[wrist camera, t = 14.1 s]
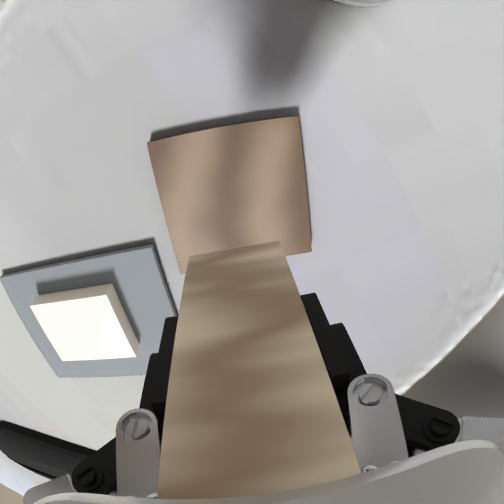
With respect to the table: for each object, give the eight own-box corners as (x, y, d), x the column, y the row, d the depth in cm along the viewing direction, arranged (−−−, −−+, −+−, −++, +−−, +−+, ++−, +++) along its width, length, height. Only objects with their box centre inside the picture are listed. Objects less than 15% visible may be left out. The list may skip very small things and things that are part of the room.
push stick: (279, 240, 14) (368, 496, 4) (287, 312, 16) (346, 530, 6) (189, 256, 14) (155, 521, 4) (208, 325, 16) (209, 549, 6)
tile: (139, 343, 32) (112, 282, 29) (136, 356, 30) (106, 294, 27) (68, 348, 32) (38, 294, 29) (62, 360, 30) (29, 305, 27)
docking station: (-27, 401, 41) (-35, 418, 36) (144, 458, 48) (141, 480, 43) (9, 452, 51) (4, 466, 47) (148, 494, 58) (147, 510, 54)
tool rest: (295, 115, 24) (298, 116, 23) (308, 246, 29) (311, 251, 29) (149, 141, 24) (147, 143, 23) (181, 268, 29) (180, 273, 28)
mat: (153, 243, 28) (151, 247, 27) (195, 365, 35) (195, 370, 35) (2, 274, 28) (-1, 278, 27) (60, 373, 35) (58, 377, 35)
